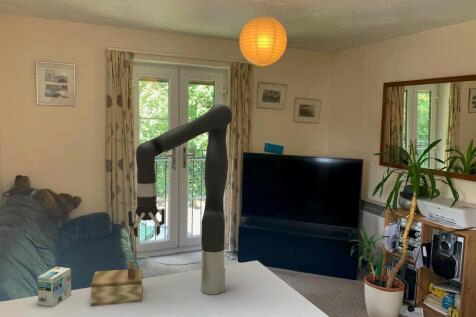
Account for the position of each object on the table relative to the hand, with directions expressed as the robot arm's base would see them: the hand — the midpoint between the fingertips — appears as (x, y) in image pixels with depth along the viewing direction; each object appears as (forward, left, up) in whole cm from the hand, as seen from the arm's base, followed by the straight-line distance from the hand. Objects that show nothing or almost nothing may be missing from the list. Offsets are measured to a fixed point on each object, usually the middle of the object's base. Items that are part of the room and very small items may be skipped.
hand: (147, 235), depth 145 cm
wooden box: (+11, 0, -24) cm, 26 cm away
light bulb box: (+34, -2, -24) cm, 42 cm away
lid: (+11, 0, -16) cm, 20 cm away
